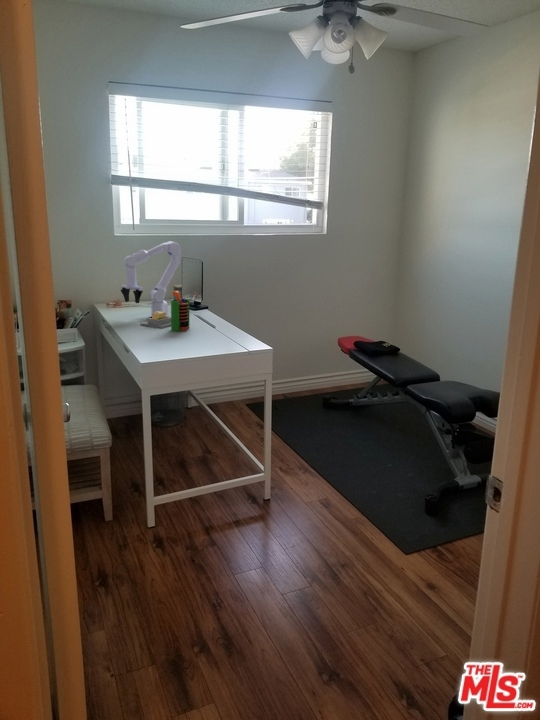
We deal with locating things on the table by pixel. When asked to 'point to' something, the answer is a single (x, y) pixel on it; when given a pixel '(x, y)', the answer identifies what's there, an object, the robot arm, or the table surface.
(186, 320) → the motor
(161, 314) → the yellow block
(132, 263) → the robot arm
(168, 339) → the table surface
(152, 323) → the chassis plate
